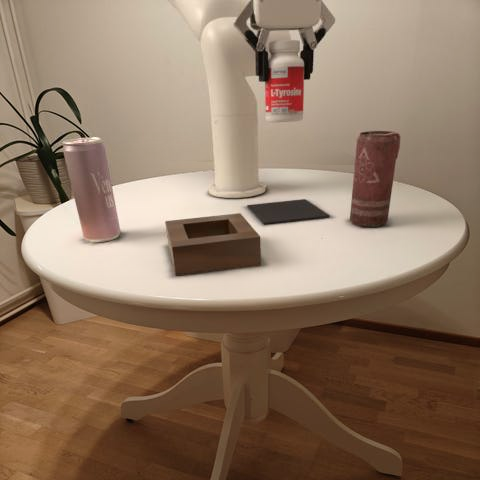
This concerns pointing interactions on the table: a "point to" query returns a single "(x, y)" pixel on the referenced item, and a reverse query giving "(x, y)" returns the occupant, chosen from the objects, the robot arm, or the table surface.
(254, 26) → the robot arm
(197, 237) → the holder
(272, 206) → the coaster
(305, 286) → the table surface
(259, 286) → the table surface
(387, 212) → the can
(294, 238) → the table surface
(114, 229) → the beverage can
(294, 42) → the pill bottle
